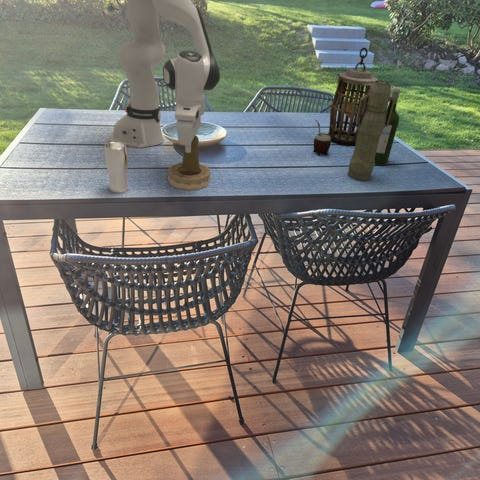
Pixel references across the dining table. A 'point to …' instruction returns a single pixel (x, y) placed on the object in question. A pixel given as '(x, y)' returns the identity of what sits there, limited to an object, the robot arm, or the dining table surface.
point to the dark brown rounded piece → (191, 156)
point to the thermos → (370, 129)
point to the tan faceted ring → (188, 177)
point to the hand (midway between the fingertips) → (190, 148)
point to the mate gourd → (321, 142)
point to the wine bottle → (388, 133)
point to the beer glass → (117, 166)
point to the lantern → (349, 103)
